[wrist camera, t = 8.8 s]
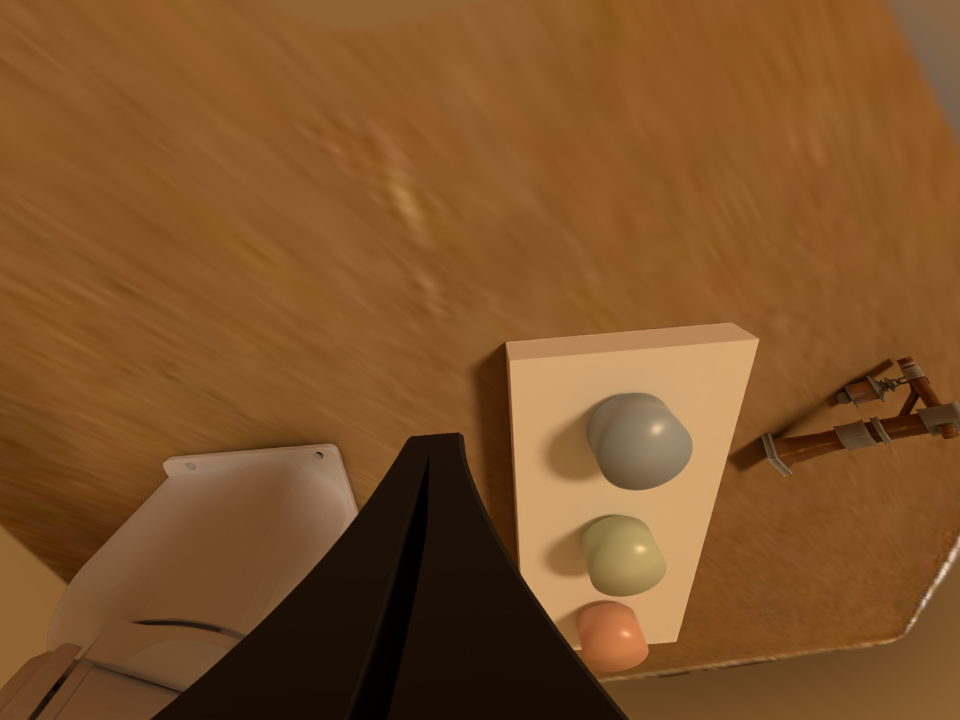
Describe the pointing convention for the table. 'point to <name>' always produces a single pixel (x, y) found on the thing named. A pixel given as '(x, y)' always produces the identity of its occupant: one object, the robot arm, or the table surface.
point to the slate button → (638, 441)
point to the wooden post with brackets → (872, 421)
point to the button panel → (577, 476)
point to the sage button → (622, 556)
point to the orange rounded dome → (611, 637)
